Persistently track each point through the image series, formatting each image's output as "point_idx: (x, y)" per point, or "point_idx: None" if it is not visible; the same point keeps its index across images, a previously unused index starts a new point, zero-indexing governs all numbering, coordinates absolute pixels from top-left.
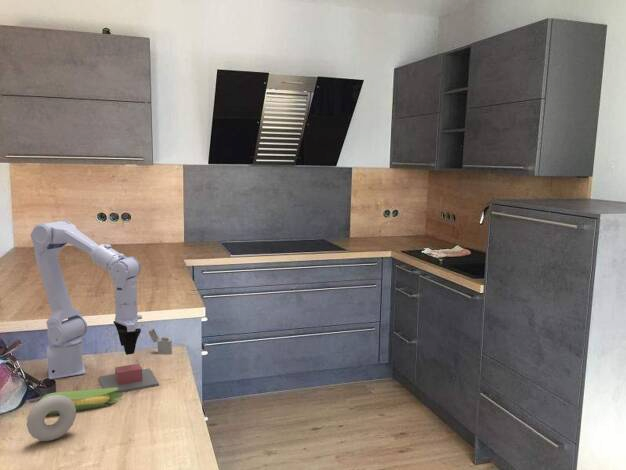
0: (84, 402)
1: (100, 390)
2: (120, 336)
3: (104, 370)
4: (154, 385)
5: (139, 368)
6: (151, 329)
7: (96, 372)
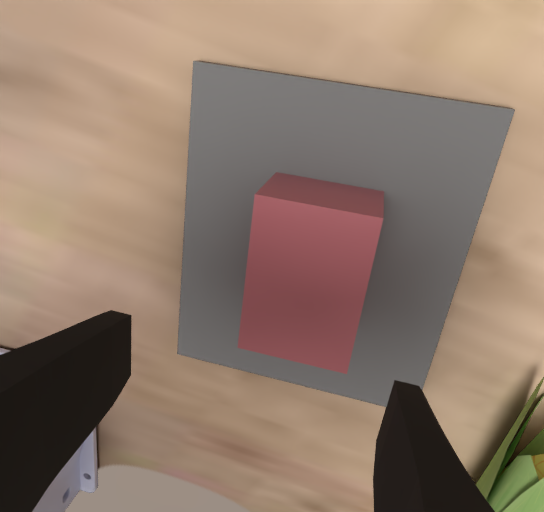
0: None
1: None
2: (66, 451)
3: (81, 287)
4: (502, 143)
5: (364, 232)
6: None
7: None
